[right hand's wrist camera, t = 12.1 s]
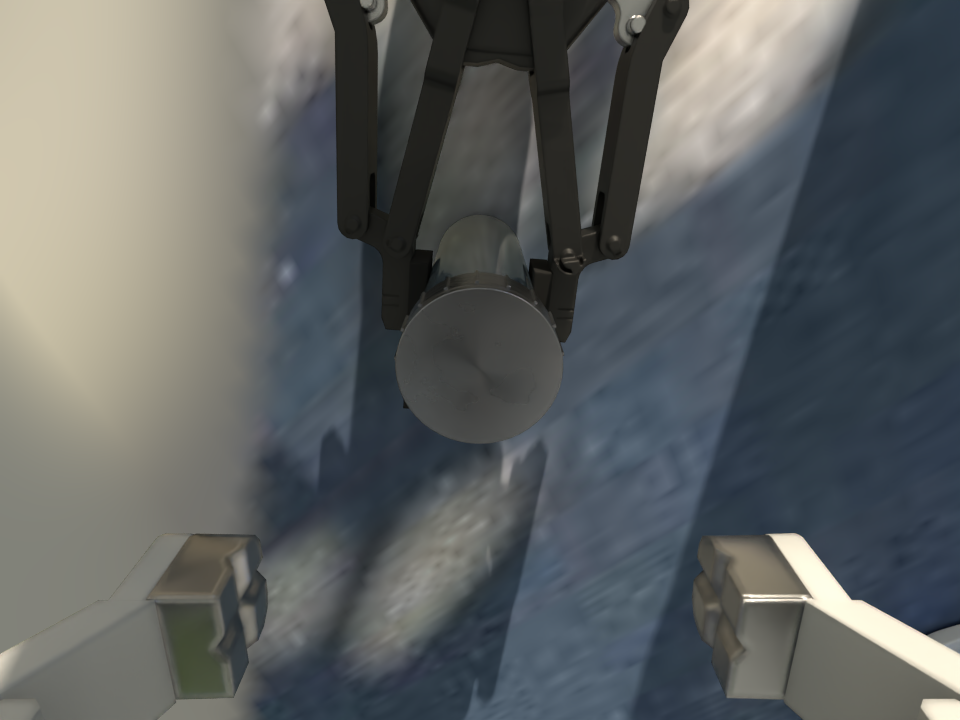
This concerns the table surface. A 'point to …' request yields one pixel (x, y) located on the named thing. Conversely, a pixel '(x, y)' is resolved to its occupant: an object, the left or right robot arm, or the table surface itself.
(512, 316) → the lid
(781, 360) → the table surface
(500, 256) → the blue gray cylinder
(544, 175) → the left robot arm
